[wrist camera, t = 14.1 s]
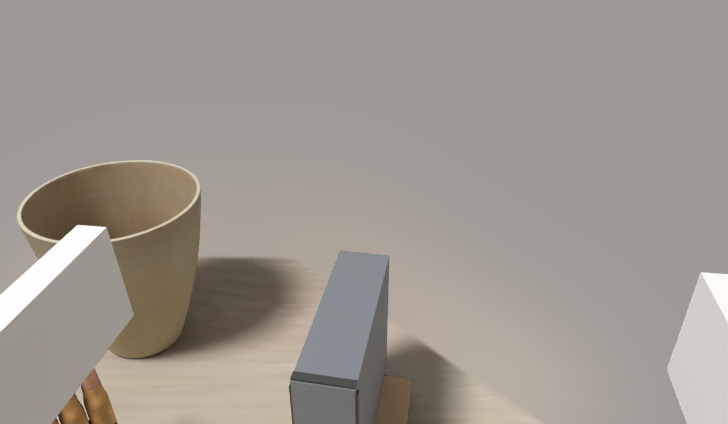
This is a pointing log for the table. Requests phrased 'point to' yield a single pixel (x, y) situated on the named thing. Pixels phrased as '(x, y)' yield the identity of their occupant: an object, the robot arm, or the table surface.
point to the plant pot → (130, 238)
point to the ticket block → (350, 351)
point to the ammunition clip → (88, 405)
